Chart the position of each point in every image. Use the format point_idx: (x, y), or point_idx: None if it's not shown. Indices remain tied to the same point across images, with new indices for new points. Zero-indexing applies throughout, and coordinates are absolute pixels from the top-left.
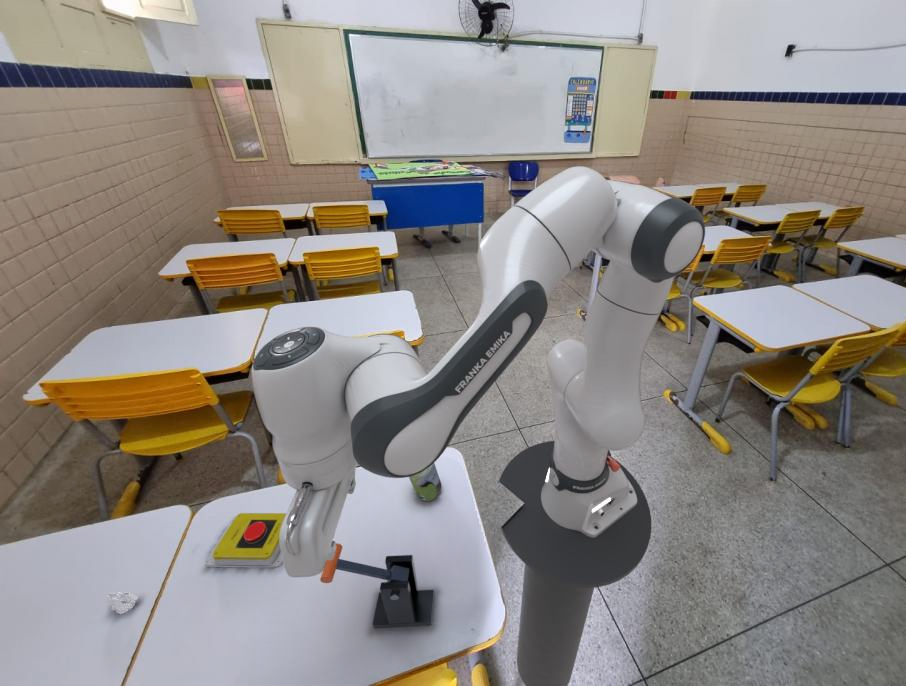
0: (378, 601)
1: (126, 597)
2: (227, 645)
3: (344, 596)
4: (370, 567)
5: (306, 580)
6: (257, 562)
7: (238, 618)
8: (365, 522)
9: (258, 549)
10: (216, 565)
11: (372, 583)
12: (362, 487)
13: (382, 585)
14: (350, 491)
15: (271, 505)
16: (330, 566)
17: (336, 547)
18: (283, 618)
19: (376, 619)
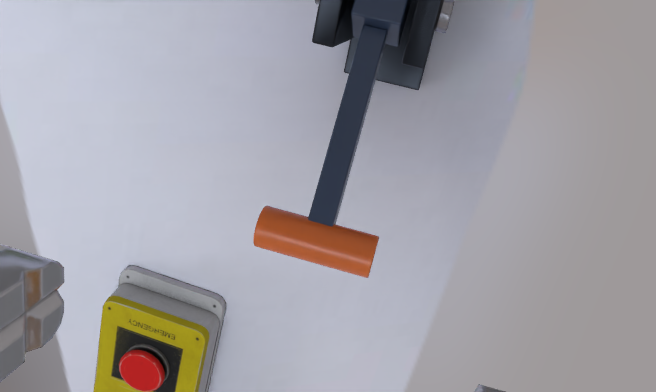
0: None
1: None
2: (358, 372)
3: None
4: (348, 101)
5: None
6: (210, 348)
7: (313, 361)
8: (145, 108)
9: (184, 356)
10: None
11: (311, 89)
12: (41, 117)
13: (413, 58)
14: (44, 284)
15: (78, 329)
16: (336, 249)
17: (487, 390)
18: (337, 283)
19: (408, 79)
